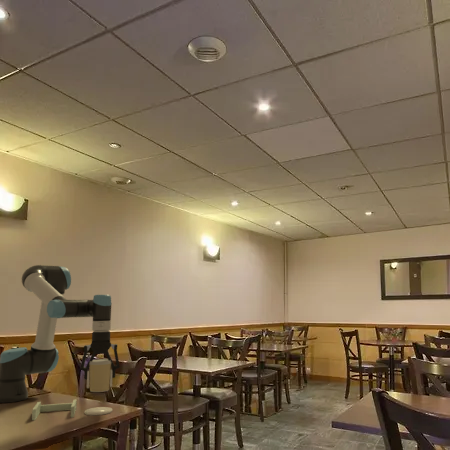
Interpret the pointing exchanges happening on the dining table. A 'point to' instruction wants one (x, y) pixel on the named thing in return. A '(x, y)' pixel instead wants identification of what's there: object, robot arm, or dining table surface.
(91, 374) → the coffee cup
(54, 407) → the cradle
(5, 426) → the dining table surface
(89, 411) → the coaster
